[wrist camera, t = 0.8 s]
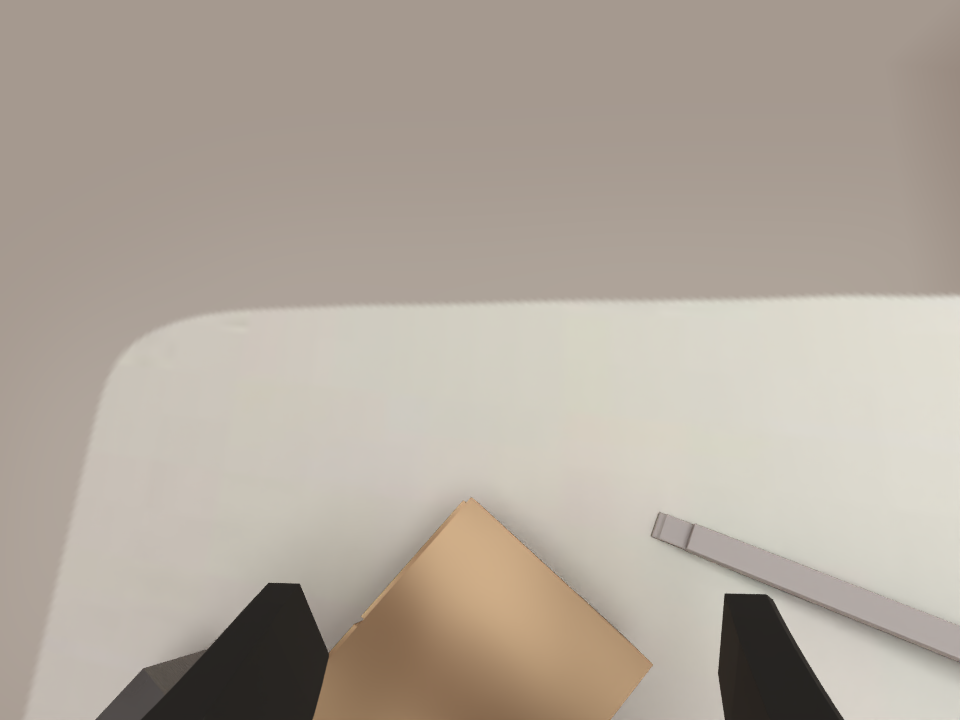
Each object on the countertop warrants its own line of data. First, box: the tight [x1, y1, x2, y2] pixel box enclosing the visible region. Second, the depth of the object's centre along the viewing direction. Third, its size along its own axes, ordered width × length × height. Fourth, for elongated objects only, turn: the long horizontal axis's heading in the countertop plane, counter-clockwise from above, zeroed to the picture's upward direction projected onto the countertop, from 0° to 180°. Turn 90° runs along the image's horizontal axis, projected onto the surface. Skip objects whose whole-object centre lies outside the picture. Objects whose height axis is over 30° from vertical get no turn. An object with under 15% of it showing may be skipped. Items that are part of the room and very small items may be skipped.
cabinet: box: [313, 497, 653, 720], centre depth 21 cm, size 10×7×6 cm
